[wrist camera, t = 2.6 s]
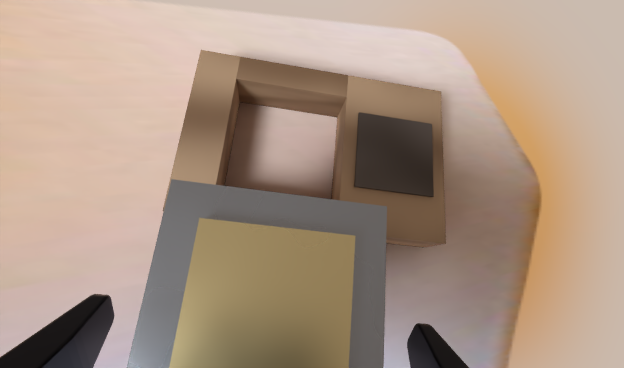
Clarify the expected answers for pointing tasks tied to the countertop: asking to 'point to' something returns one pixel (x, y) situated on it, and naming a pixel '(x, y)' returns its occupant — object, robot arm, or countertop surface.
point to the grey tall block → (263, 282)
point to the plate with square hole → (349, 136)
